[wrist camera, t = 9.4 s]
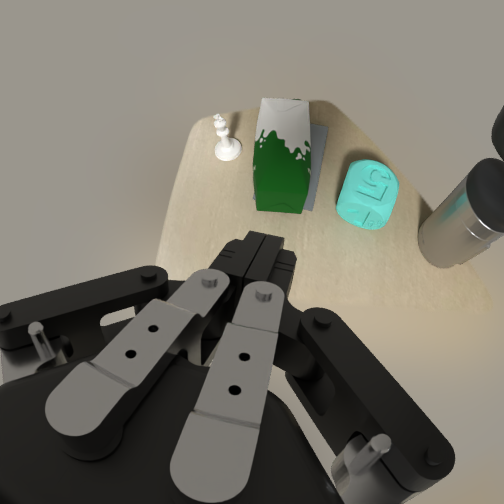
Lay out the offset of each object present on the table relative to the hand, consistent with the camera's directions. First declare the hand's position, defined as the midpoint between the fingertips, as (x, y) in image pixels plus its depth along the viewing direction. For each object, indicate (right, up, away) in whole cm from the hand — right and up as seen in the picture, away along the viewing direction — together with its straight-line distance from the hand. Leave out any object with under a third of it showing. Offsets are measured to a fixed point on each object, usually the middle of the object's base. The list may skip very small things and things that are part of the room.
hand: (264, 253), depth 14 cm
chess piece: (-5, +19, +42) cm, 46 cm away
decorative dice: (+18, +8, +36) cm, 41 cm away
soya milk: (+4, +7, +33) cm, 34 cm away
